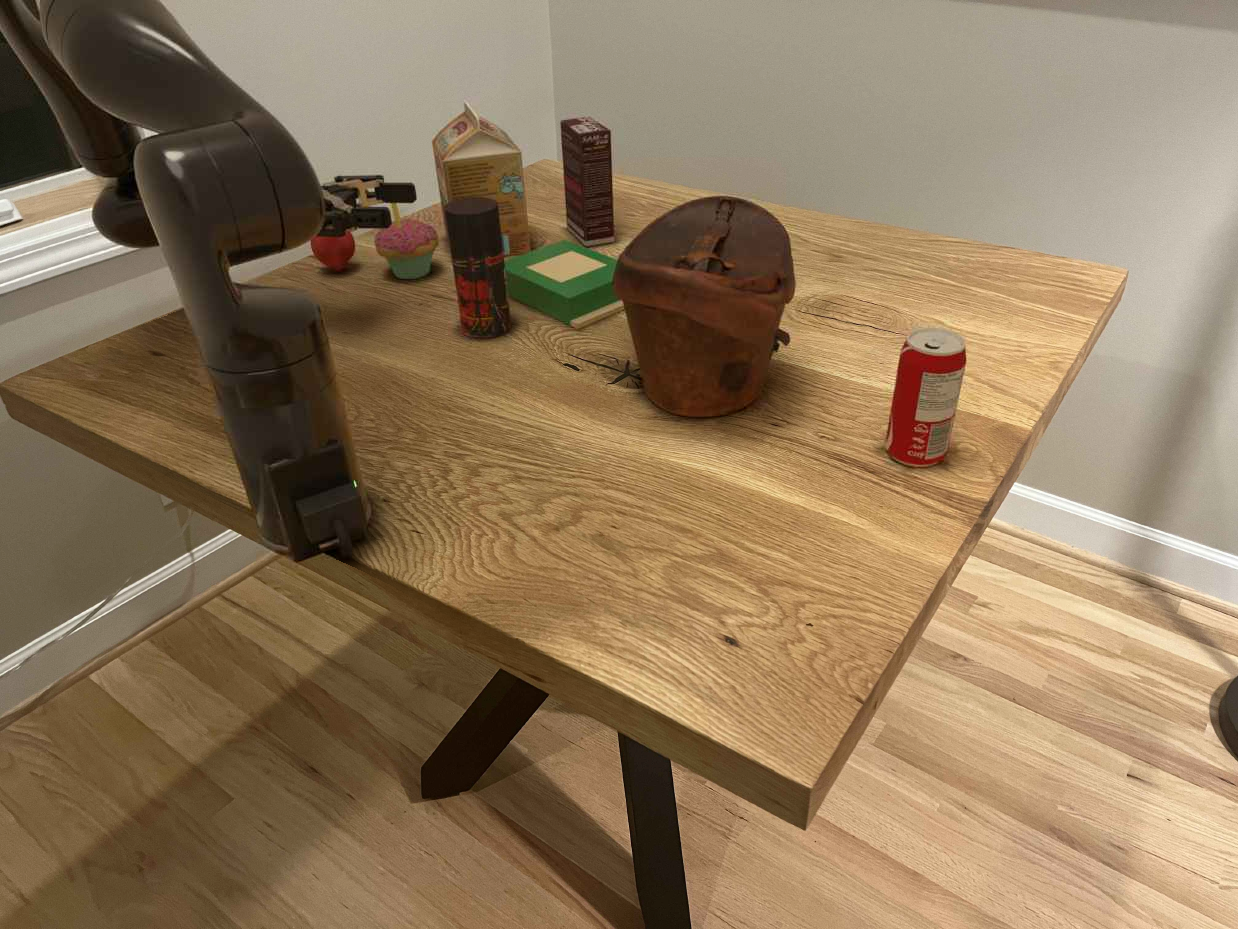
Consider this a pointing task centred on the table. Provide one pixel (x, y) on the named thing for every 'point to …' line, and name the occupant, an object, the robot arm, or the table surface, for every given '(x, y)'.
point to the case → (706, 303)
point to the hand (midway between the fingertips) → (402, 204)
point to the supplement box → (588, 180)
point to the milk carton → (483, 173)
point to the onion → (334, 250)
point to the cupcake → (407, 246)
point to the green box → (565, 283)
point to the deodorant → (478, 266)
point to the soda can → (925, 396)
